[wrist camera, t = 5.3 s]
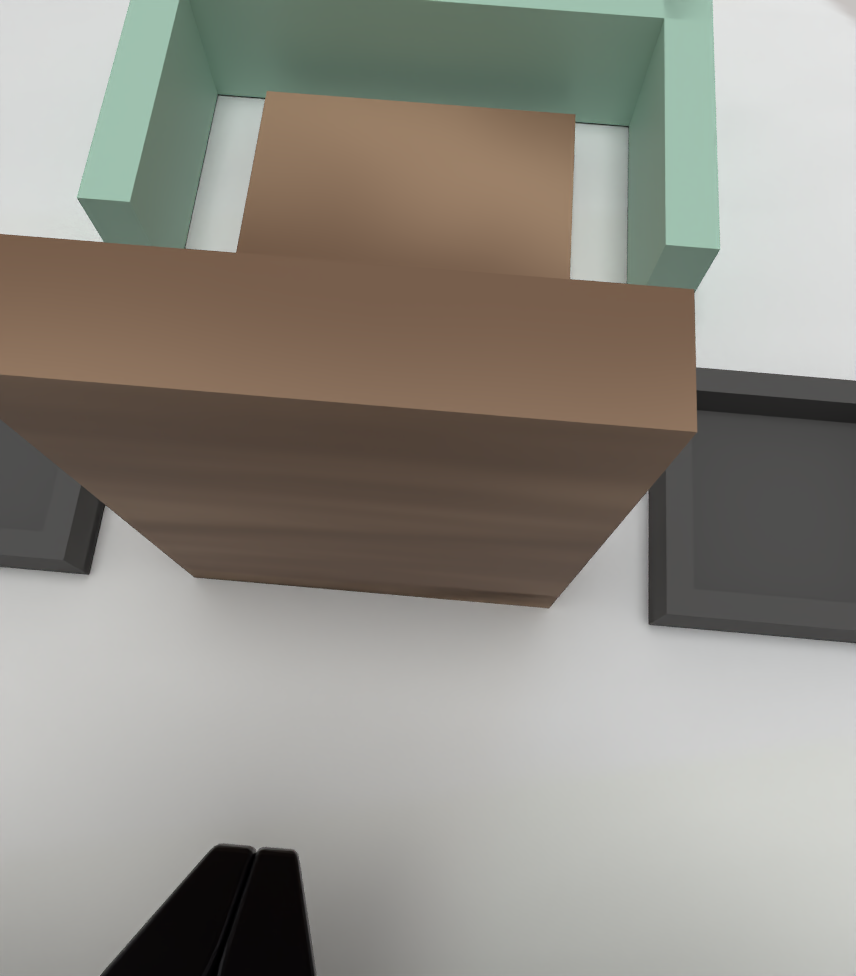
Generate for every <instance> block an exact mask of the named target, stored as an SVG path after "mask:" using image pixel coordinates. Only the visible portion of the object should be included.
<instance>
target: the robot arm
mask: <svg viewBox="0 0 856 976" xmlns="http://www.w3.org/2000/svg"><path fill="white" fill-rule="evenodd" d="M100 976H317V974H316V968H315V961H314V954H313V948H312V941H311V934H310V928H309V921H308V914H307V907H306V901H305V894H304V887H303V881H302V874H301V867H300V861H299V856H298V853H297V852H296V851H295V850H293V849H283V848H271V847H263V848H260V849H259V850H258V851H257V852H256V849H255V848H254V847H251V846H246V845H234V844H218V845H216V846H214V847H213V848H212V849H211V850H210V851H209V852H208V853H207V854H206V855H205V857H204V858H203V859H202V860H201V861H200V862H199V863H198V865H197V866H196V867H195V868H194V869H193V870H192V871H191V873H190V874H189V875H188V876H187V877H186V878H185V879H184V881H183V882H182V883H181V884H180V885H179V886H178V887H177V888H176V890H175V891H174V892H173V893H172V894H171V895H170V896H169V898H168V899H167V900H166V901H165V902H164V903H163V904H162V906H161V907H160V908H159V909H158V910H157V911H156V912H155V914H154V915H153V916H152V917H151V918H150V919H149V920H148V922H147V923H146V924H145V925H144V926H143V927H142V928H141V929H140V931H139V932H138V933H137V934H136V935H135V936H134V937H133V939H132V940H131V941H130V942H129V943H128V944H127V945H126V947H125V948H124V949H123V950H122V951H121V952H120V953H119V955H118V956H117V957H116V958H115V959H114V960H113V961H112V963H111V964H110V965H109V966H108V967H107V968H106V969H105V970H104V972H103V973H102V974H101V975H100Z"/></svg>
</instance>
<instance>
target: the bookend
mask: <svg viewBox="0 0 856 976" xmlns="http://www.w3.org/2000/svg"><path fill="white" fill-rule="evenodd" d="M574 143H575V114H564V113H551V112H538V111H524V110H511V109H498V108H485V107H471V106H458V105H445V104H432V103H419V102H405V101H392V100H379V99H366V98H352V97H339V96H326V95H313V94H299V93H286V92H273V91H267V92H266V98H265V103H264V108H263V114H262V119H261V124H260V129H259V135H258V140H257V145H256V151H255V156H254V161H253V167H252V172H251V177H250V182H249V188H248V193H247V198H246V204H245V209H244V214H243V220H242V225H241V230H240V235H239V241H238V246H237V251H236V253H232V252H219V251H207V250H194V249H181V248H169V247H156V246H143V245H131V244H118V243H106V242H93V241H80V240H68V239H55V238H43V237H30V236H17V235H5V234H0V419H1V420H2V421H3V422H4V423H6V424H7V425H8V426H9V427H10V428H12V429H13V430H14V431H15V432H17V433H18V434H19V435H20V436H21V437H23V438H24V439H25V440H26V441H28V442H29V443H30V444H31V445H33V446H34V447H35V448H36V449H37V450H39V451H40V452H41V453H42V454H44V455H45V456H46V457H47V458H48V459H50V460H51V461H52V462H53V463H55V464H56V465H57V466H58V467H60V468H61V469H62V470H63V471H64V472H66V473H67V474H68V475H69V476H71V477H72V478H73V479H74V480H76V481H77V482H78V483H79V484H80V485H82V486H83V487H84V488H85V489H87V490H88V491H89V492H90V493H91V494H93V495H94V496H95V497H96V498H98V499H99V500H100V501H101V502H103V503H104V504H105V505H106V506H107V507H109V508H110V509H111V510H112V511H114V512H115V513H116V514H117V515H118V516H120V517H121V518H122V519H123V520H125V521H126V522H127V523H128V524H130V525H131V526H132V527H133V528H134V529H136V530H137V531H138V532H139V533H141V534H142V535H143V536H144V537H145V538H147V539H148V540H149V541H150V542H152V543H153V544H154V545H155V546H157V547H158V548H159V549H160V550H161V551H163V552H164V553H165V554H166V555H168V556H169V557H170V558H171V559H173V560H174V561H175V562H176V563H177V564H179V565H180V566H181V567H182V568H184V569H185V570H186V571H187V572H188V573H190V574H191V575H192V576H193V577H196V578H208V579H219V580H231V581H242V582H254V583H265V584H277V585H288V586H300V587H311V588H323V589H334V590H346V591H357V592H369V593H380V594H392V595H403V596H415V597H426V598H438V599H449V600H461V601H472V602H484V603H495V604H507V605H518V606H530V607H541V608H550V606H551V605H552V604H553V603H554V602H555V600H556V599H557V598H558V597H559V596H560V594H561V593H562V592H563V591H564V590H565V589H566V587H567V586H568V585H569V584H570V583H571V581H572V580H573V579H574V578H575V577H576V575H577V574H578V573H579V572H580V571H581V570H582V568H583V567H584V566H585V565H586V564H587V562H588V561H589V560H590V559H591V558H592V556H593V555H594V554H595V553H596V552H597V551H598V549H599V548H600V547H601V546H602V545H603V543H604V542H605V541H606V540H607V539H608V537H609V536H610V535H611V534H612V533H613V532H614V530H615V529H616V528H617V527H618V526H619V524H620V523H621V522H622V521H623V520H624V518H625V517H626V516H627V515H628V514H629V513H630V511H631V510H632V509H633V508H634V507H635V505H636V504H637V503H638V502H639V501H640V499H641V498H642V497H643V496H644V495H645V494H646V492H647V491H648V490H649V489H650V488H651V486H652V485H653V484H654V483H655V482H656V480H657V479H658V478H659V477H660V476H661V475H662V473H663V472H664V471H665V470H666V469H667V467H668V466H669V465H670V464H671V463H672V461H673V460H674V459H675V458H676V457H677V456H678V454H679V453H680V452H681V451H682V450H683V448H684V447H685V446H686V445H687V444H688V442H689V441H690V440H691V439H692V438H693V437H694V435H695V434H696V433H697V396H696V350H695V304H694V289H686V288H673V287H660V286H648V285H635V284H623V283H610V282H597V281H585V280H572V279H570V257H571V229H572V200H573V171H574Z"/></svg>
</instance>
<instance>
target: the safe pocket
mask: <svg viewBox="0 0 856 976" xmlns="http://www.w3.org/2000/svg"><path fill="white" fill-rule="evenodd" d="M267 91H273V92H286V93H299V94H313V95H326V96H339V97H352V98H366V99H379V100H392V101H405V102H419V103H432V104H445V105H458V106H471V107H485V108H498V109H511V110H524V111H538V112H551V113H564V114H575V122H584V123H597V124H610V125H623V126H629V160H628V247H627V284H635V285H648V286H660V287H673V288H686V289H694V293H695V291H696V289H697V288H698V286H699V284H700V283H701V281H702V279H703V277H704V276H705V274H706V272H707V271H708V269H709V267H710V266H711V264H712V262H713V260H714V259H715V257H716V255H717V254H718V252H719V250H720V230H719V198H718V166H717V134H716V101H715V69H714V37H713V5H712V0H130V3H129V7H128V11H127V14H126V18H125V22H124V26H123V29H122V33H121V37H120V40H119V44H118V48H117V51H116V55H115V59H114V62H113V66H112V70H111V74H110V77H109V81H108V85H107V88H106V92H105V96H104V99H103V103H102V107H101V110H100V114H99V118H98V122H97V125H96V129H95V133H94V136H93V140H92V144H91V147H90V151H89V155H88V158H87V162H86V166H85V170H84V173H83V177H82V181H81V184H80V188H79V192H78V195H77V199H78V200H79V202H80V204H81V205H82V207H83V208H84V210H85V212H86V213H87V215H88V217H89V218H90V220H91V222H92V223H93V225H94V226H95V228H96V230H97V231H98V233H99V235H100V236H101V238H102V240H103V241H104V242H106V243H118V244H131V245H143V246H156V247H169V248H181V249H184V248H185V244H186V239H187V234H188V230H189V225H190V221H191V216H192V211H193V207H194V202H195V197H196V193H197V188H198V183H199V179H200V174H201V169H202V165H203V160H204V155H205V151H206V146H207V141H208V137H209V132H210V128H211V123H212V118H213V114H214V109H215V104H216V100H217V95H218V94H223V95H235V96H248V97H261V98H266V92H267Z"/></svg>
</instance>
